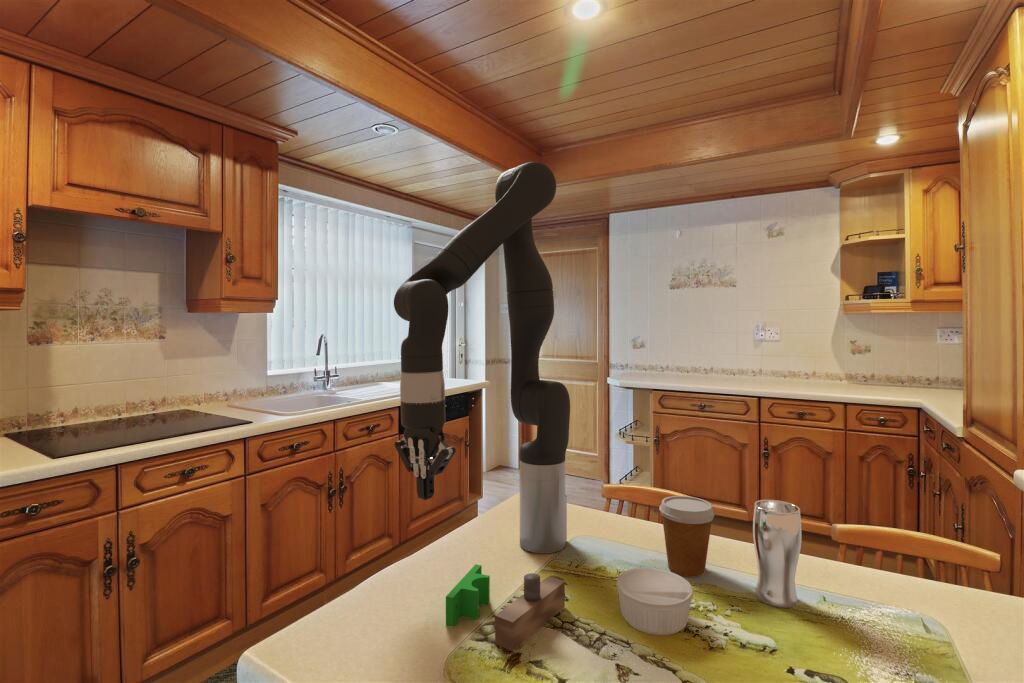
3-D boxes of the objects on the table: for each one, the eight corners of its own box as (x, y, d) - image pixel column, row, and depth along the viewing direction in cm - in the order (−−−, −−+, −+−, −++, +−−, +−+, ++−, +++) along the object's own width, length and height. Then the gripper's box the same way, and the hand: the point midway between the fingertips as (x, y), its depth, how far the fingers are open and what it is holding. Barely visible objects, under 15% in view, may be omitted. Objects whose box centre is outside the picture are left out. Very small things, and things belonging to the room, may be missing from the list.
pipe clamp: (469, 632, 75) (468, 600, 75) (445, 627, 76) (445, 596, 76) (496, 594, 86) (496, 566, 85) (475, 590, 87) (475, 563, 87)
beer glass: (799, 593, 85) (799, 502, 85) (802, 614, 79) (803, 516, 79) (752, 584, 88) (753, 496, 88) (752, 604, 82) (753, 509, 82)
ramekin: (651, 649, 70) (651, 611, 70) (601, 610, 80) (601, 576, 80) (710, 627, 76) (710, 592, 76) (655, 593, 86) (656, 561, 85)
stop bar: (548, 600, 83) (548, 557, 83) (564, 606, 81) (564, 562, 81) (495, 644, 72) (495, 593, 71) (512, 651, 70) (512, 600, 70)
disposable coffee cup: (709, 586, 88) (710, 516, 87) (653, 573, 92) (653, 506, 92) (718, 564, 96) (718, 500, 96) (665, 553, 101) (666, 492, 100)
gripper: (466, 397, 88) (469, 498, 88) (412, 392, 95) (414, 485, 96) (435, 403, 82) (438, 512, 82) (379, 397, 89) (382, 497, 90)
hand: (425, 497), depth 89 cm, fingers closed
